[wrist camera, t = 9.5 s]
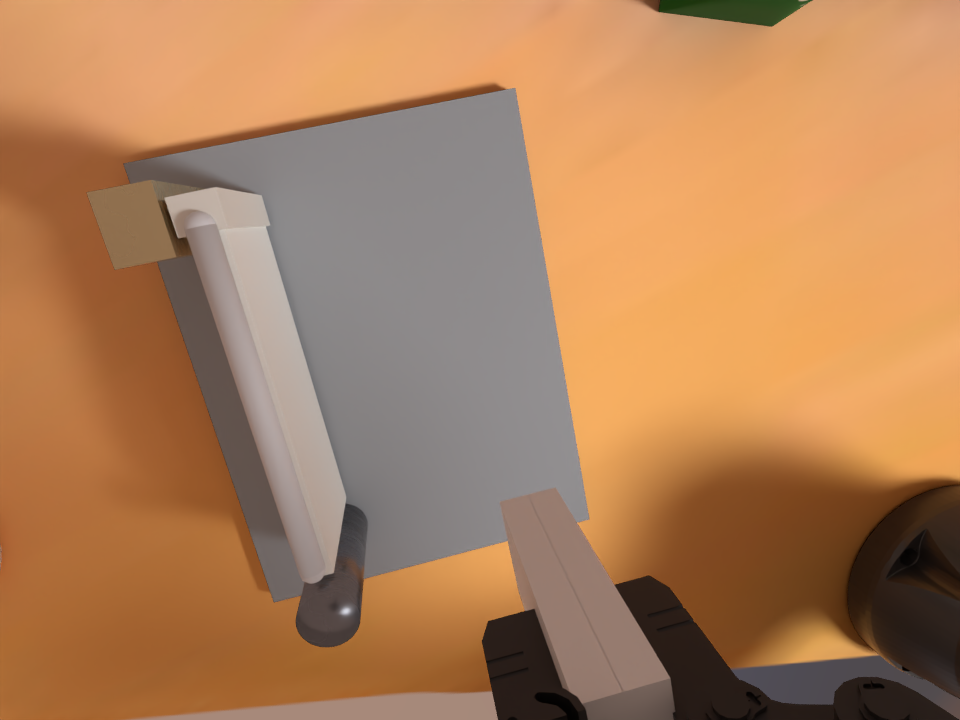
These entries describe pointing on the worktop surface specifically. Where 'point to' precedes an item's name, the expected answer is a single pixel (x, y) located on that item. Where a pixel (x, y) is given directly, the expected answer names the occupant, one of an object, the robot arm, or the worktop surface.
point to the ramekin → (0, 557)
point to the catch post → (139, 223)
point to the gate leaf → (267, 367)
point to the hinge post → (337, 589)
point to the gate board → (397, 324)
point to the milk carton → (735, 9)
